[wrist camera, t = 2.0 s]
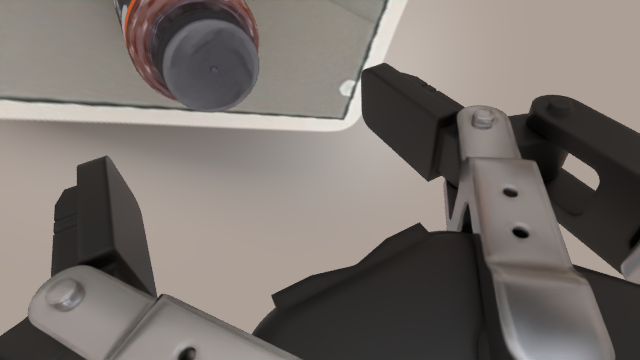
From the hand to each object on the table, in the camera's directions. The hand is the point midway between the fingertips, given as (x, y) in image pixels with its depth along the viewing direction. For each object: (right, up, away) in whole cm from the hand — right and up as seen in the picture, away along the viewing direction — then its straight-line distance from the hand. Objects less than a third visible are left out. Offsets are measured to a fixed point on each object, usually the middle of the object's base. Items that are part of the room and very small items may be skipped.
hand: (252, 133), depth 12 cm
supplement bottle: (-7, +10, +11) cm, 17 cm away
